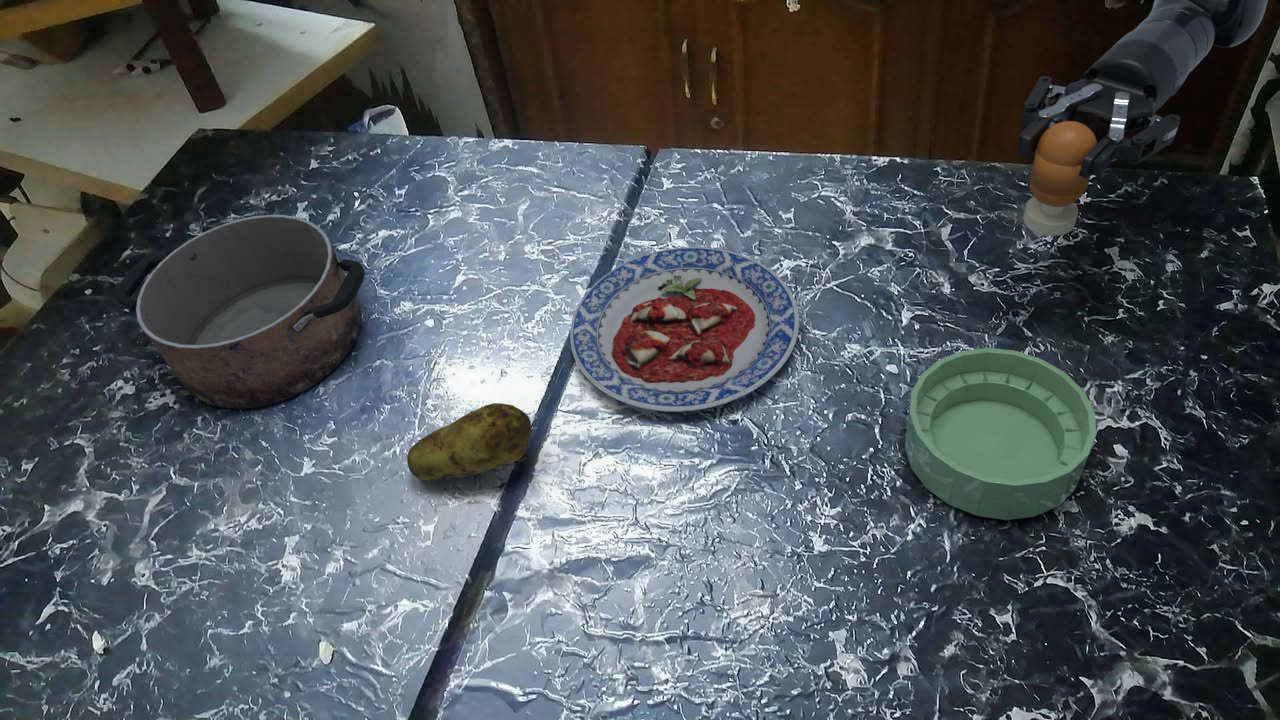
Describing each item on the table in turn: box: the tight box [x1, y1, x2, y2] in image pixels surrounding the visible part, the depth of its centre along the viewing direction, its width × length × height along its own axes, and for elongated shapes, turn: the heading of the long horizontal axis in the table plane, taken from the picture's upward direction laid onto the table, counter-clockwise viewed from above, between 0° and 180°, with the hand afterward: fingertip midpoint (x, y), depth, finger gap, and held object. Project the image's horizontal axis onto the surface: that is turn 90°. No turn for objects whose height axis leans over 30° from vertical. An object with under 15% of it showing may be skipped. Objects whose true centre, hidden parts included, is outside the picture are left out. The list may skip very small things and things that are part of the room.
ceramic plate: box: [569, 246, 800, 413], centre depth 105 cm, size 26×26×3 cm
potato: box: [406, 402, 532, 482], centre depth 94 cm, size 8×13×8 cm, turn 75°
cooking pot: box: [114, 214, 366, 410], centre depth 110 cm, size 30×22×11 cm
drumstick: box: [1022, 121, 1098, 237], centre depth 88 cm, size 5×5×11 cm
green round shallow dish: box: [904, 347, 1098, 521], centre depth 88 cm, size 16×16×6 cm
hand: (1054, 158), depth 85 cm, fingers closed on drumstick, 5 cm apart
